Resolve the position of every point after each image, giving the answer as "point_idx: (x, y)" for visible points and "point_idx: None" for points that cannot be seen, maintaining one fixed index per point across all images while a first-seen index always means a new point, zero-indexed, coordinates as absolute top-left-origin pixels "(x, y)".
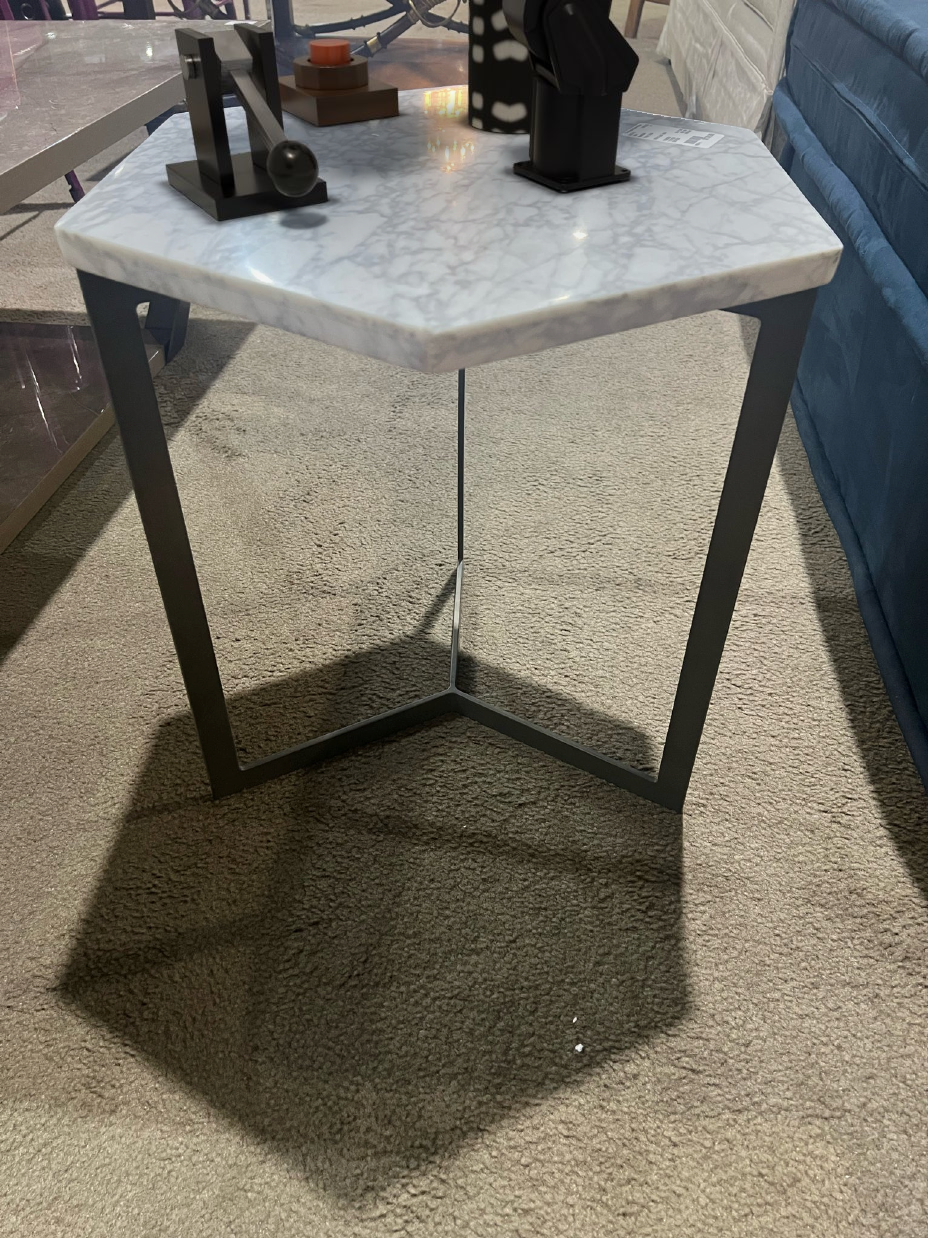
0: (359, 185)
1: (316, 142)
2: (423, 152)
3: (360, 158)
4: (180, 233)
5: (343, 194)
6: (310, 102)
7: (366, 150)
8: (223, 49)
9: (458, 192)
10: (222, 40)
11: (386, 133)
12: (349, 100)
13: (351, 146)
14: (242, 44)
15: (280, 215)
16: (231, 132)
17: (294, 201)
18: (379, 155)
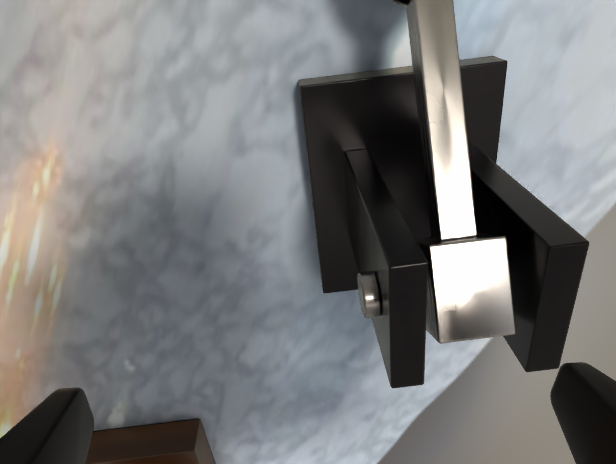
0: (222, 144)
1: (222, 360)
2: (73, 268)
3: (181, 274)
4: (568, 21)
5: (262, 108)
6: (200, 454)
7: (161, 306)
8: (489, 274)
9: (56, 27)
10: (483, 303)
11: (111, 368)
12: (143, 449)
13: (178, 330)
14: (440, 288)
15: (396, 41)
16: (315, 426)
17: (361, 73)
18: (148, 277)
